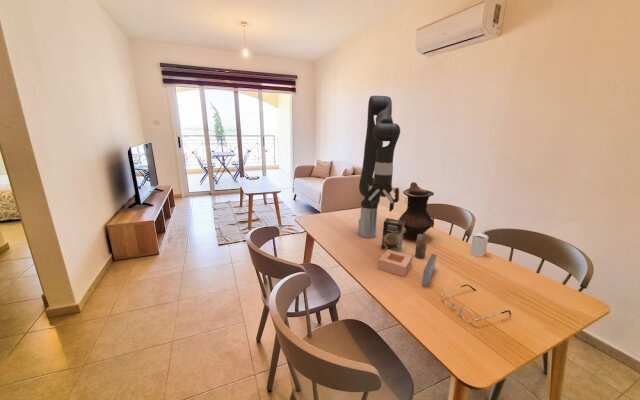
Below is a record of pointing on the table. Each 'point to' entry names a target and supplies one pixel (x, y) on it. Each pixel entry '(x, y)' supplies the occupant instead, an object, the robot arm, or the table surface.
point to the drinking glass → (479, 244)
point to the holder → (395, 262)
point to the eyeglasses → (467, 308)
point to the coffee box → (392, 234)
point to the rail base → (429, 270)
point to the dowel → (421, 246)
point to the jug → (416, 212)
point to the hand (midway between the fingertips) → (380, 209)
